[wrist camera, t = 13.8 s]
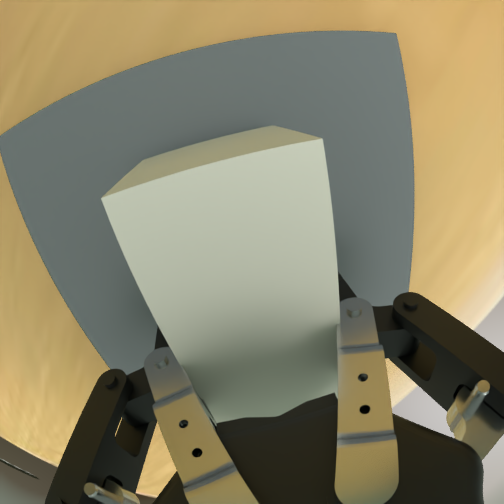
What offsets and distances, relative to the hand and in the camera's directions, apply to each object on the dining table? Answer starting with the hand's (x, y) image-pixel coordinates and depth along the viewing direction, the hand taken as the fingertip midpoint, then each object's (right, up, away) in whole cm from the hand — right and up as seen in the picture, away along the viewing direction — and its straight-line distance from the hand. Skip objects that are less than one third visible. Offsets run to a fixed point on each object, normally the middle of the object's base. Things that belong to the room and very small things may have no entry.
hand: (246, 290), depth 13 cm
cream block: (+2, -7, +2) cm, 8 cm away
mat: (0, +1, +2) cm, 2 cm away
